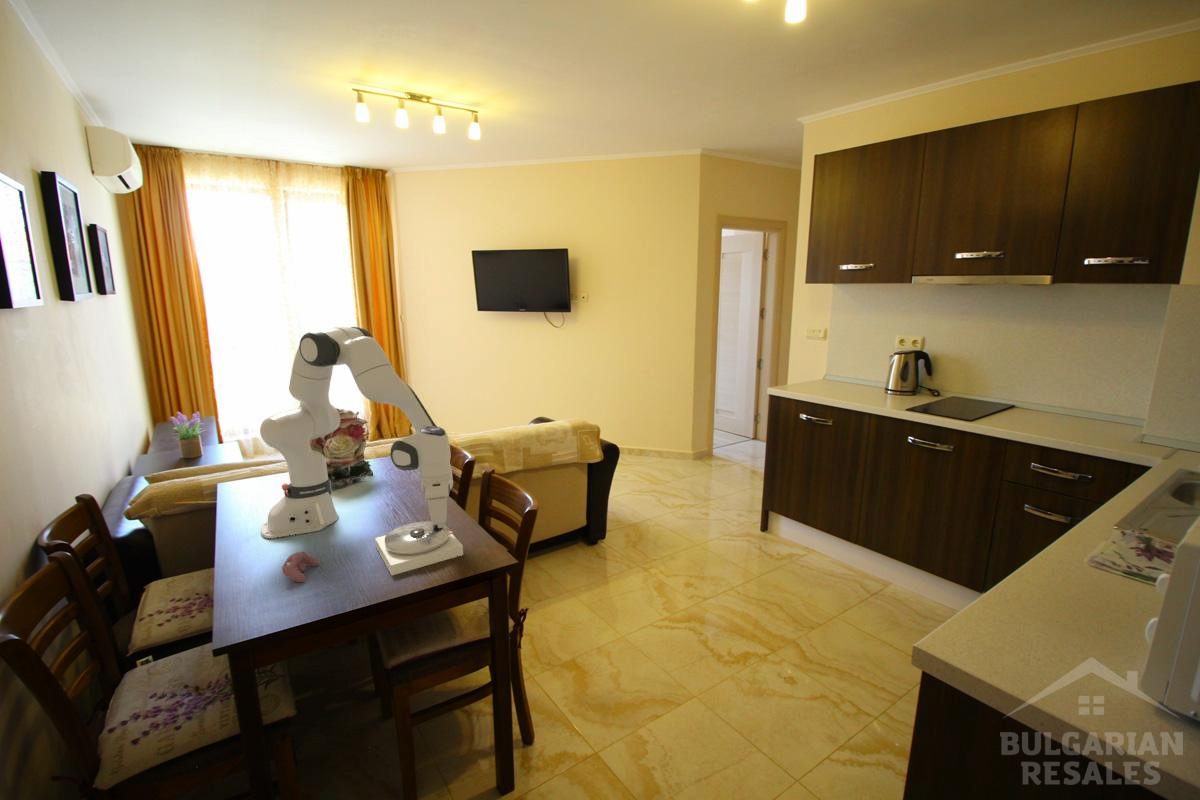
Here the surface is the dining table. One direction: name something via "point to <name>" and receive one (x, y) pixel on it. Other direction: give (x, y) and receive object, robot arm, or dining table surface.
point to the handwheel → (416, 538)
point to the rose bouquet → (345, 451)
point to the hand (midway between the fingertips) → (441, 526)
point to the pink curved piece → (298, 565)
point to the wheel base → (411, 562)
